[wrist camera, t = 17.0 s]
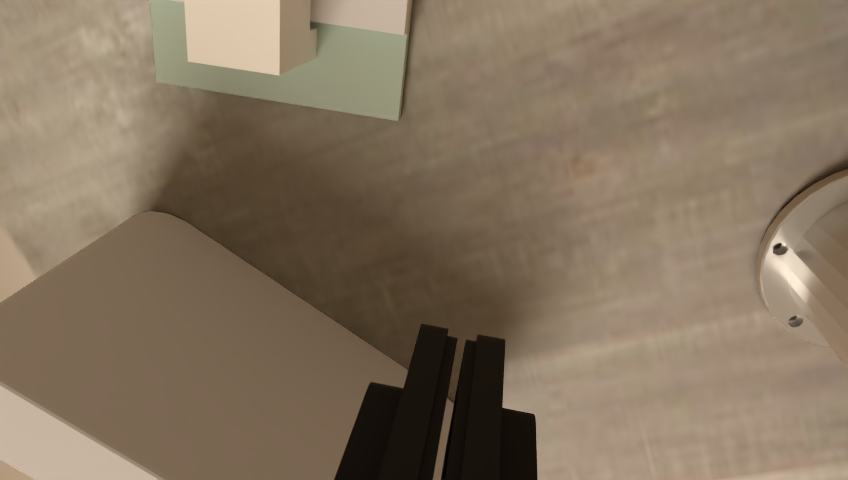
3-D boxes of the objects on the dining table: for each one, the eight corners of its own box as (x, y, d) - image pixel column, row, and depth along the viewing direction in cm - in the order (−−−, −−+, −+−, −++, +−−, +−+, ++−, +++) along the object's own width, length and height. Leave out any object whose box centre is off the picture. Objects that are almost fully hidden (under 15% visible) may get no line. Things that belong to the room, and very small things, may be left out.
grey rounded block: (119, 271, 46) (-97, 437, 30) (156, 199, 43) (-66, 343, 27) (414, 460, 50) (363, 698, 34) (468, 408, 47) (440, 644, 31)
